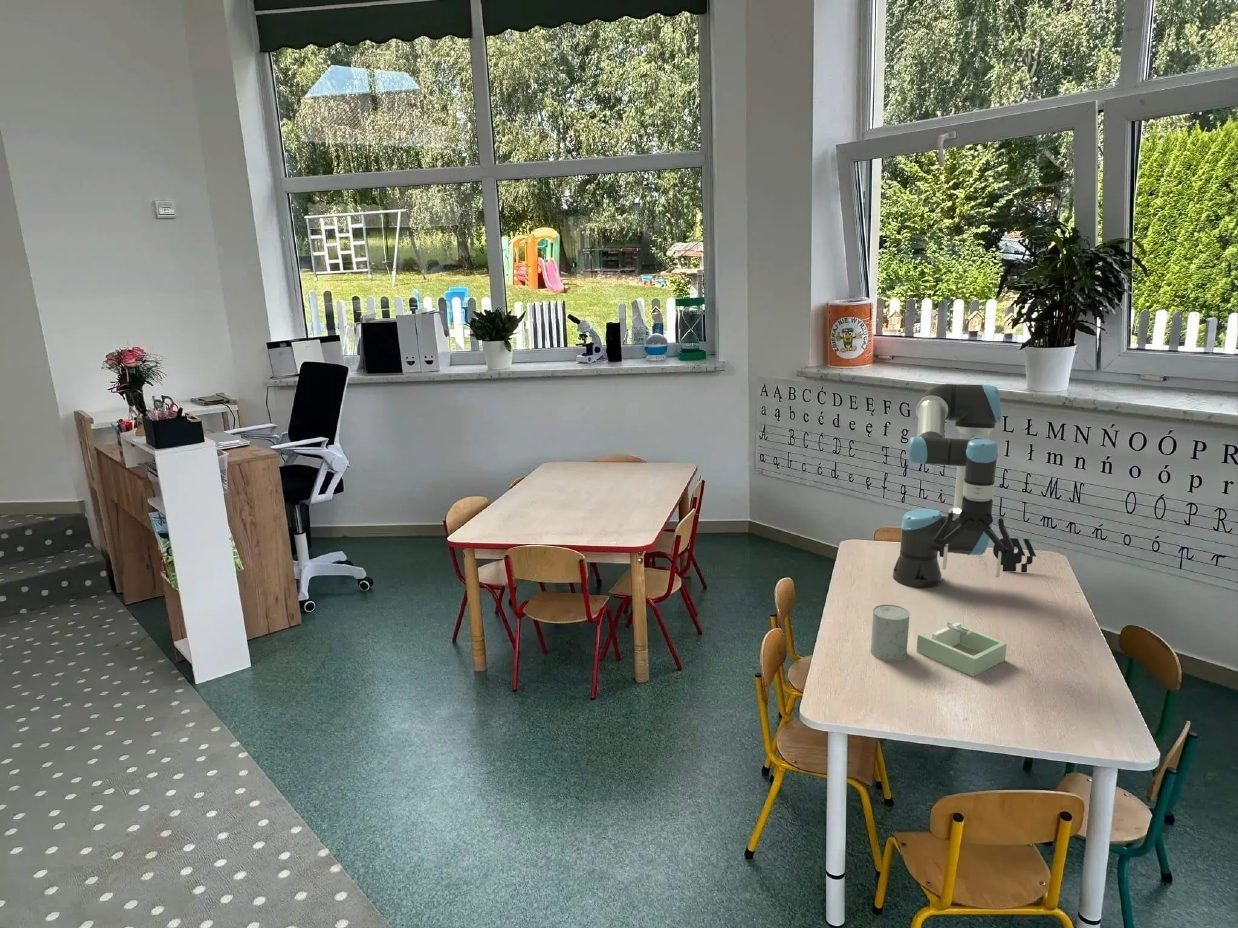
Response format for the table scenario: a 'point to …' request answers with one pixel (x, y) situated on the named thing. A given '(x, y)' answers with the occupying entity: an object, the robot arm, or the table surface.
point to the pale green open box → (966, 663)
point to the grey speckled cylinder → (890, 633)
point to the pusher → (951, 634)
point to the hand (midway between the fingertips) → (970, 571)
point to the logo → (1016, 555)
